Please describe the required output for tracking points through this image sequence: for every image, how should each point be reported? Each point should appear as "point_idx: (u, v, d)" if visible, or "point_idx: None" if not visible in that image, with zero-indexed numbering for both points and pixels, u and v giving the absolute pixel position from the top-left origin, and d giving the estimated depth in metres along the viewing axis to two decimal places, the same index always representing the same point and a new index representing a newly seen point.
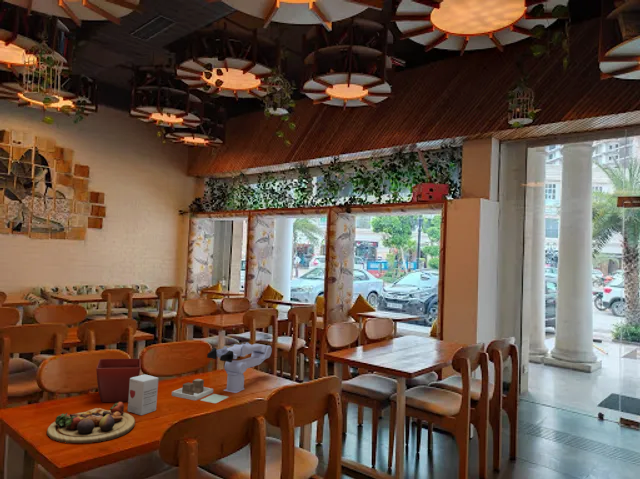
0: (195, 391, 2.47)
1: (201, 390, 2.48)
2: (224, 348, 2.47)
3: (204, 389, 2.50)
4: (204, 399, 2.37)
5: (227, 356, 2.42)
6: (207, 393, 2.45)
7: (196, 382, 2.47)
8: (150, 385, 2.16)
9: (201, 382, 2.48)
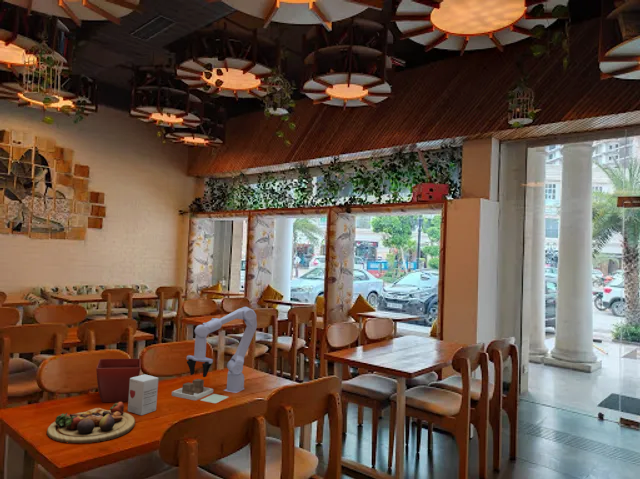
0: (195, 391, 2.47)
1: (201, 390, 2.48)
2: (195, 360, 2.46)
3: (204, 389, 2.50)
4: (204, 399, 2.37)
5: None
6: (207, 393, 2.45)
7: (196, 382, 2.47)
8: (150, 385, 2.16)
9: (201, 382, 2.48)
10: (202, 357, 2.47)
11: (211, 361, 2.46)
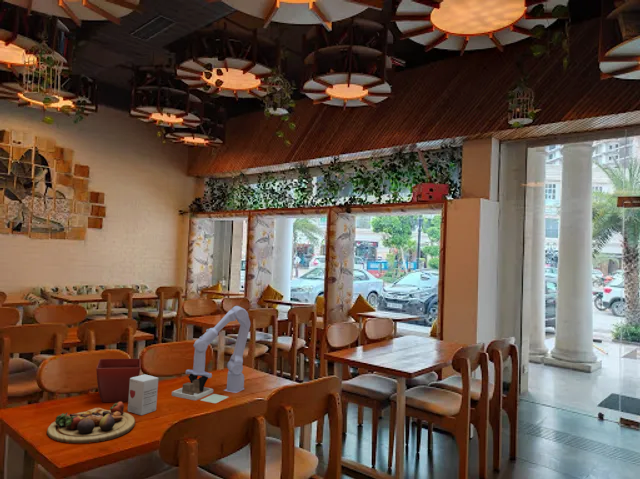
0: (195, 391, 2.47)
1: None
2: None
3: (204, 389, 2.50)
4: (204, 399, 2.37)
5: (202, 381, 2.47)
6: (207, 393, 2.45)
7: (196, 382, 2.47)
8: (150, 385, 2.16)
9: None
10: (201, 371, 2.47)
11: (210, 375, 2.46)
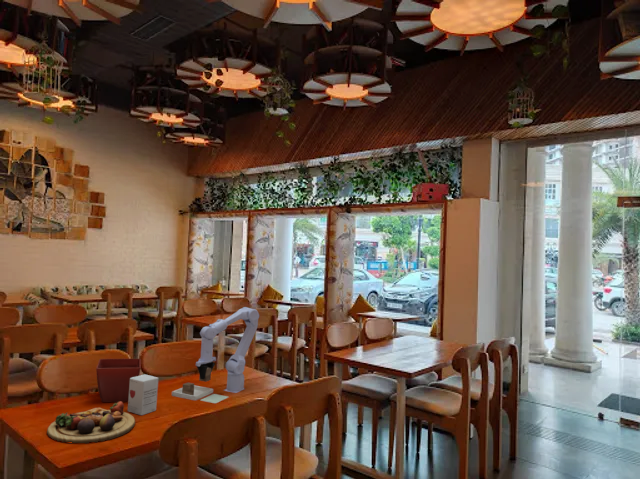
0: None
1: (203, 379, 2.43)
2: None
3: (204, 389, 2.50)
4: (204, 399, 2.37)
5: (202, 369, 2.43)
6: (207, 393, 2.45)
7: None
8: (150, 385, 2.16)
9: None
10: (201, 359, 2.44)
11: (197, 364, 2.39)
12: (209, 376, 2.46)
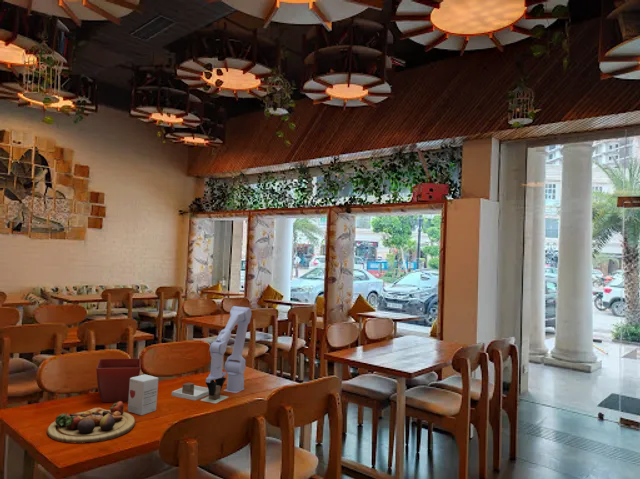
0: None
1: (213, 397, 2.38)
2: None
3: (204, 389, 2.50)
4: (204, 399, 2.37)
5: (211, 385, 2.37)
6: (207, 393, 2.45)
7: None
8: (150, 385, 2.16)
9: None
10: (211, 374, 2.38)
11: (207, 380, 2.33)
12: (219, 394, 2.40)
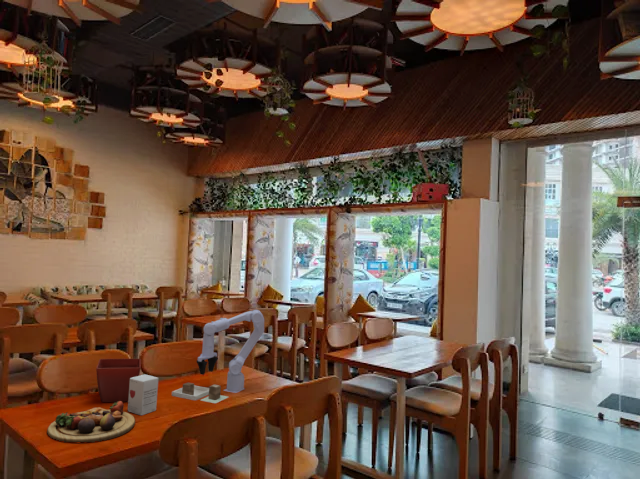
0: None
1: (213, 397, 2.38)
2: None
3: (204, 389, 2.50)
4: (204, 399, 2.37)
5: (201, 364, 2.50)
6: (207, 393, 2.45)
7: None
8: (150, 385, 2.16)
9: (212, 388, 2.38)
10: (202, 354, 2.52)
11: (199, 359, 2.47)
12: (219, 394, 2.40)
